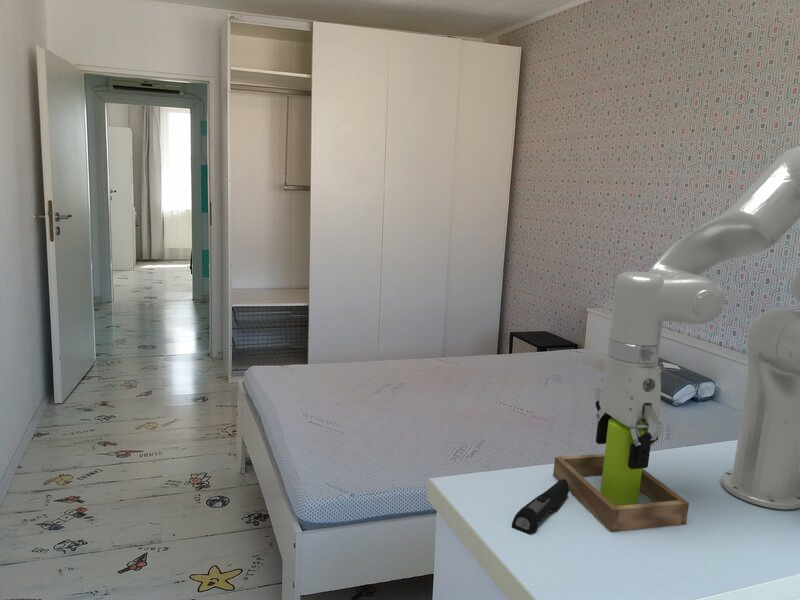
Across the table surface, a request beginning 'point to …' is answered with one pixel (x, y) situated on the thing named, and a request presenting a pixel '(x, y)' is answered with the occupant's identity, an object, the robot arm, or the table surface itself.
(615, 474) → the soap dispenser
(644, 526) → the frame
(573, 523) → the table surface
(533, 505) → the electric trimmer
